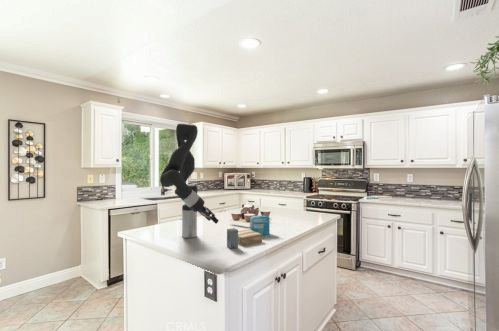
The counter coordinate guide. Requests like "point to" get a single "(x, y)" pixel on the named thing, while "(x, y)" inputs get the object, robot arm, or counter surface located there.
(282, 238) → the counter surface
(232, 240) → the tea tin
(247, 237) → the oak block
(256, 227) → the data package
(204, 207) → the robot arm
